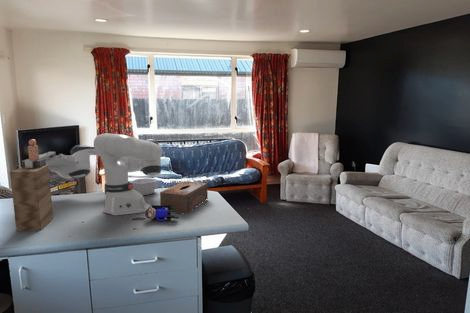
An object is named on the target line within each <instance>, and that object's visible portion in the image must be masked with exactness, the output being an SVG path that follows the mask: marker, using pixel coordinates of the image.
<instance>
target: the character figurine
mask: <svg viewBox="0 0 470 313" xmlns="http://www.w3.org/2000/svg"><path fill="white" fill-rule="evenodd" d="M174 210H178V208H171V205H161V204H159V205H158V204H157V205H156V204H155V205H154V204H153V205H151V207H149V208H148V209H147V210H146V212H144V214H145V217H146V219H148V220H150V221H151V220H152V221H158V222H160V223H162V222H164V221H172V219H179V216H176V215H174V214H172V213H173V212H175V211H174Z"/></svg>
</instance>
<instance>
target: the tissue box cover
mask: <svg viewBox="0 0 470 313" xmlns="http://www.w3.org/2000/svg"><path fill="white" fill-rule="evenodd" d="M208 195H209V194H208V183H207V182H200V181H199V182H198V181H187V180H184V181H182V182H179V183H177V184H175V185H173V186H171V187H169V188H166V189H165V190H162V191H160V192H159V200H160V201H159V202H160V203H159V205H171V208H178V210H174V211H175V212H176V213H175V214H181V213H184V215H186V213H187V214H188V212H189V211H190V212H192V211H193V210H194V208H195V207H196V206H198V205H199V204H201V203H202V202H204V201H205V200H206V199H208ZM205 202H206V201H205ZM205 202H204V203H205ZM202 204H203V203H202ZM202 204H201V205H202ZM199 206H200V205H199ZM199 206H198V207H199ZM196 208H197V207H196ZM196 208H195V209H196ZM192 209H193V210H192ZM191 210H192V211H191ZM190 212H189V213H190Z"/></svg>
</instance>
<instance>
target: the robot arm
mask: <svg viewBox="0 0 470 313" xmlns="http://www.w3.org/2000/svg"><path fill="white" fill-rule="evenodd" d="M159 144H160V143H159V142H158V141H157V140H156V139H154V138H148V139H142V138H141V139H140V138H136V137H133V136H131V135H127V134H126V135H125V134H121V133H120V134H119V133H108V132H107V133H106V132H105V133H101V134H98V135H97V136H96V137H95V138H94V139H93V146H91V145H90V146H89V145H82V144H76V145H74V146H73V147H72V148H71V149H70V151H69V152H70V155H66V154H63V153H59V154H58V155H56V158H53V159H51V160H49V161H47V162H46V165H48V166H49V172H53V173H56V174H57V175H59V177H61V178H63V179H67V180H68V179H69V180H71V179H82V178H85V177H86V176H88V175H90V173H91V159H90V157H91V156H99V157H100V160H101V162H102V166H103V170H104V182H105V183H104V187H103V188H104V195H105V198H104V199H105V201H104V208H103V212H104V213H106V214H108V215H109V214H110V215H112V216H121V215H122V216H123V215H132V214H139V213H140V214H141V213H145V212H146V210H147V209H148V208H150V204H149V203H147V202H145V197H144V195H142V194H140V193H138V192H137V191H135V190H134V189H133V184H132V183H131V182H130V181H129V173H136V172H141V173H143V174H144V175H145V176H148V177H154V176H157V175H160V174H161V172H162V164H161V163H162V161H161V160H162V159H161V157H162V156H163V148H162V147H161V145H159ZM42 154H43V153H42ZM42 154H41V153H40V154H39V156H40V155H42Z"/></svg>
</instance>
